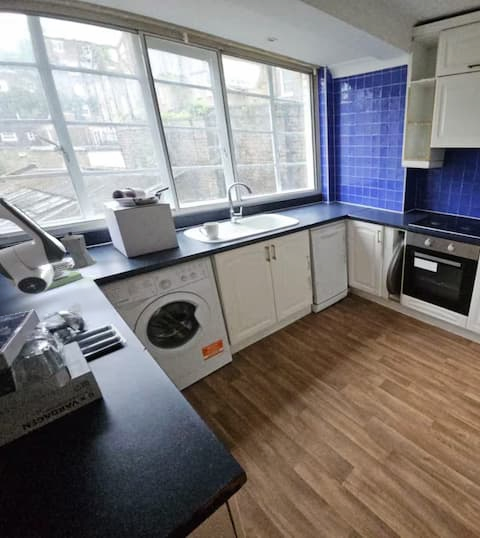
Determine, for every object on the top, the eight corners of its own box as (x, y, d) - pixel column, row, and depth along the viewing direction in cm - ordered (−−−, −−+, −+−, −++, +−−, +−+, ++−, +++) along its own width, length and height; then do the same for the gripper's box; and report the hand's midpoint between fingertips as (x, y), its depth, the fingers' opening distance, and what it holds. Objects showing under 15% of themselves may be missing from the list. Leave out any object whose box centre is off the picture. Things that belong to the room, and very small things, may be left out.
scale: (44, 290, 128) (41, 284, 127) (29, 285, 133) (26, 279, 132) (82, 277, 139) (80, 272, 138) (67, 273, 145) (64, 268, 144)
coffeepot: (101, 262, 157) (87, 230, 150) (80, 269, 150) (65, 235, 142) (85, 259, 163) (71, 228, 156) (64, 265, 155) (48, 233, 148)
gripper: (70, 258, 122) (72, 250, 132) (-3, 272, 110) (5, 262, 120) (76, 272, 125) (78, 263, 134) (6, 287, 113) (13, 276, 123)
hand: (43, 263), depth 127 cm, fingers open, 8 cm apart
